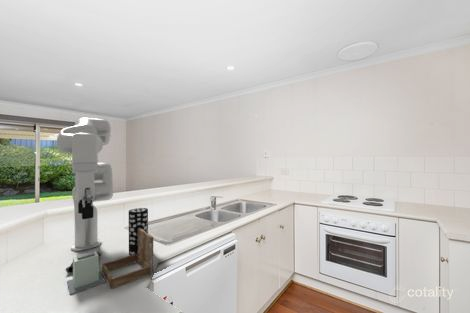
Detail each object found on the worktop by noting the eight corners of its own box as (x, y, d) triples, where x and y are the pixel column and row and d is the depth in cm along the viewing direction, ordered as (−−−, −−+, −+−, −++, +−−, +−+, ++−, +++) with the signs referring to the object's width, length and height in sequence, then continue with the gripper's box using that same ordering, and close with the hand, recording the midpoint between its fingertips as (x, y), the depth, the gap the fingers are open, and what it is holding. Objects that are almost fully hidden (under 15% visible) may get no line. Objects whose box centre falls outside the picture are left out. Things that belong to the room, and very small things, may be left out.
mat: (67, 281, 77) (67, 280, 77) (99, 271, 84) (99, 270, 84) (69, 295, 70) (69, 294, 70) (105, 282, 77) (105, 281, 77)
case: (101, 271, 84) (101, 236, 84) (140, 259, 94) (140, 227, 94) (111, 290, 72) (111, 249, 72) (154, 274, 82) (154, 237, 82)
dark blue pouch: (94, 273, 86) (103, 252, 100) (92, 261, 85) (101, 242, 99) (67, 281, 83) (80, 258, 97) (64, 268, 82) (77, 247, 96)
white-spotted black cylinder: (128, 251, 102) (128, 209, 102) (147, 247, 106) (147, 207, 106) (128, 258, 95) (128, 213, 95) (149, 254, 99) (148, 211, 99)
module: (73, 282, 77) (72, 255, 77) (96, 274, 81) (95, 249, 81) (74, 288, 73) (74, 260, 73) (98, 280, 78) (98, 253, 78)
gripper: (69, 167, 81) (70, 212, 81) (75, 169, 68) (75, 223, 68) (93, 166, 86) (93, 209, 86) (102, 168, 73) (102, 218, 73)
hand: (85, 215), depth 77 cm, fingers open, 9 cm apart
